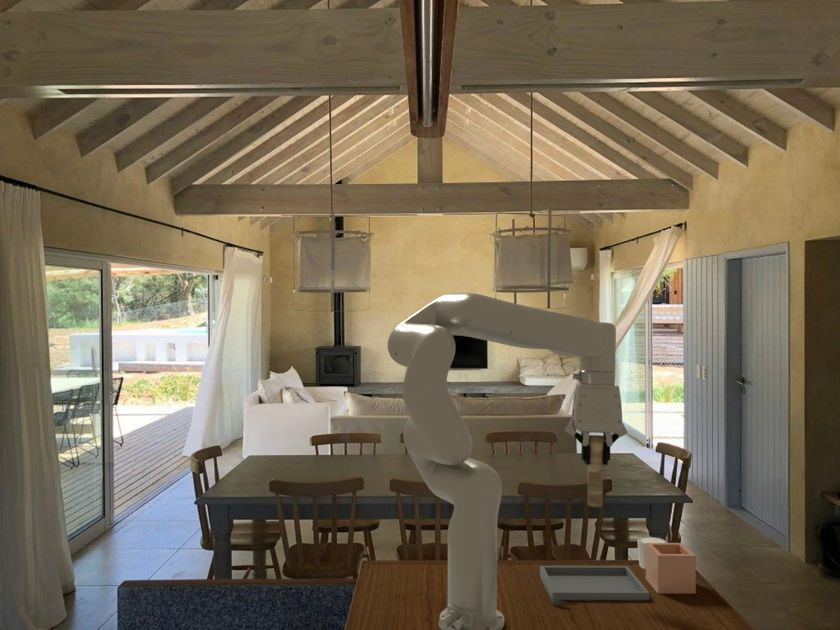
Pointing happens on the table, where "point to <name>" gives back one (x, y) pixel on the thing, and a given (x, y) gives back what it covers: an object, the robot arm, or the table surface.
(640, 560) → the cream short cylinder
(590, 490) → the dowel
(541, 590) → the table surface
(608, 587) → the tray
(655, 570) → the holder
